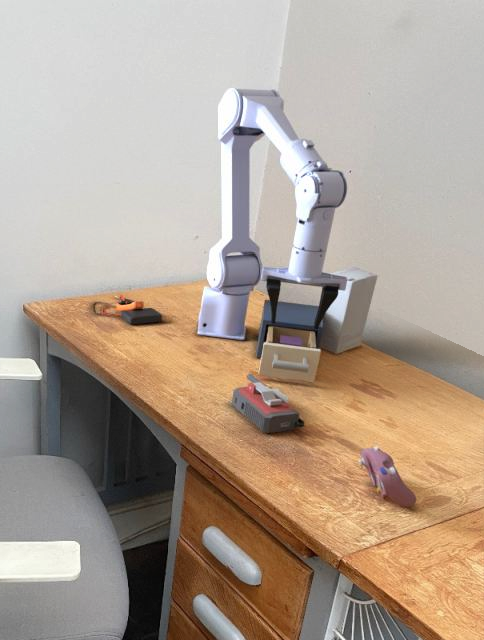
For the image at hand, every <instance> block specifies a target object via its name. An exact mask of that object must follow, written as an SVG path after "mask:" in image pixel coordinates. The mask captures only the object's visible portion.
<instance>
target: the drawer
mask: <svg viewBox="0 0 484 640" xmlns="http://www.w3.org/2000/svg"><path fill="white" fill-rule="evenodd" d="M280 335H283V336H291V337H299V338H302V347H299V346H291V345H283V344H279V340H280ZM321 349H322V348H319V349H316V339H315V330H307V329H299V328H291V327H284V326H276V325H269V328H268V333H267V339H266V342H264V345H263V350H262V356H261V359H260V362H259V368H258V373H257V374H258V376H263V377H271V378H279V379H287V380H294V381H302V382H307V383H309V382H310V383H314V382H315V380H316V375H317V371H318V366H319V362H320V357H321V352H322V350H321Z"/></svg>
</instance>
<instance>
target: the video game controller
mask: <svg viewBox="0 0 484 640" xmlns="http://www.w3.org/2000/svg"><path fill="white" fill-rule="evenodd" d="M359 453H360V454H359V455H360V457H361V459H360V458H358V464H359V466H360V468H364V467H365V469H366V472H367V473H368V476H369V479H370V481H371V483H372V485H373V486H374V487H376V493H377V494H379V495H380V497H381V498H382V499H384V498H387V497H388V498H389V499H390V500H391V501H393V503H395V504H397V505H398V506H401V507H404V508H412V507H413V506H414V505H415V504H416V502H417V496H416V494H415V493H414V491H413V490H411V488H410V487H408V486H407V485H406V484H405V482H404V481H403V479H402V477H401V475H400V473H399V471H398V469H397V468H396V466H395V462H394V460H393V458H392V456H391V455H390V454H389V453H387V452H385V451H383V450H382V449H380V448H379V446H378V445H376V446H374V447H367V448H365V449H362V450H360V451H359Z"/></svg>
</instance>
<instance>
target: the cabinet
mask: <svg viewBox="0 0 484 640" xmlns="http://www.w3.org/2000/svg"><path fill="white" fill-rule="evenodd" d="M318 308H319V305H313V304H305V303H304V304H303V303H296V302H289V301H279V300H278V304H277V311H276V320H275V324H271V305H270V300H269V299H264V301H263V307H262V313H261V320H260V325H259V331H258V335H257V336H258V337H257V347H256V355H255V356H256V357H255V358H256V359H260V360H261V356H262V350H263V345H264V342H266V339H267V333H268V328H269V325H276V326H284V327H291V328H299V329H307V330H315V339H316V349H320V347H319V345H320V340H321V336H322V331H323V320H322V321H321V323H320V325H319V328H318V329H314V323H315V318H316V315H317V311H318Z"/></svg>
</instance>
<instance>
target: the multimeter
mask: <svg viewBox="0 0 484 640" xmlns="http://www.w3.org/2000/svg"><path fill="white" fill-rule="evenodd" d="M114 297H116V298H118V299H121V300H120V301H116V302H112V303H108V302H105V304H106V305H104V306H103V307H101V313H100V315H109V316H116V317H120V318H121V319H122V320H123V321H125V322H127V324H130V325H141V324H149V323H159V322H162V319H163V314H162V313H161V312H159V311H158V310H156V309H155V308H153V307H145V303H144V301H141V300H139V301H134V300H132V299H128V298H124V297H123V295H122V294H119V296H114ZM95 304H103V302H101V301H95V302H94V303H92V306H94V305H95ZM115 304H116V310H117V311H118V312H120V314H116V313H115V314H114V313H110V312H104V308H105V307H107V306H112V305H115ZM144 307H145V308H144ZM92 312H93V313H94V314H95V315H99V312H96V311H95V309H94V308H92Z"/></svg>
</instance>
